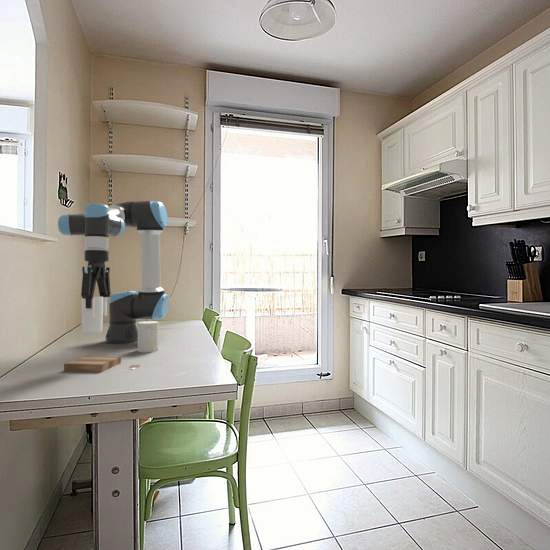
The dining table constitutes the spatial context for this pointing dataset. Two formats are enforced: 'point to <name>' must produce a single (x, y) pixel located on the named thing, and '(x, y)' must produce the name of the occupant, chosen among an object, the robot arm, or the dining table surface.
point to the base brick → (92, 364)
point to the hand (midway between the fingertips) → (96, 316)
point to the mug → (95, 323)
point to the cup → (148, 336)
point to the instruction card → (131, 367)
